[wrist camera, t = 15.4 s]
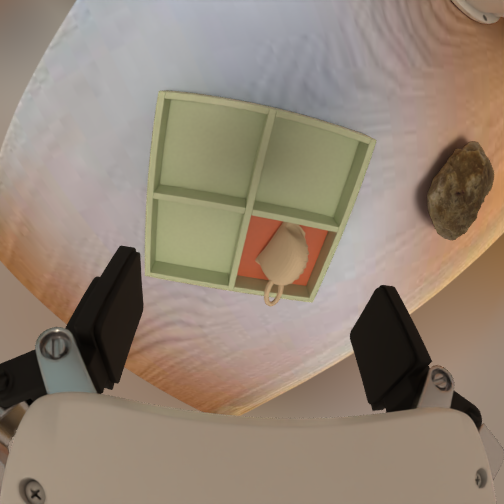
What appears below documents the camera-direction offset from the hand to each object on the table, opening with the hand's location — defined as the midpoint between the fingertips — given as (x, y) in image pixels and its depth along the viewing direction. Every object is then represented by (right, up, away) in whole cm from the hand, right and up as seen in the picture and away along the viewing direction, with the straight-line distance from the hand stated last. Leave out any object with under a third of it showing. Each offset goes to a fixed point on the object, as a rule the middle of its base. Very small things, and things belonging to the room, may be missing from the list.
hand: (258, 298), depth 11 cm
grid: (-1, +7, +20) cm, 22 cm away
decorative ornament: (+3, +2, +23) cm, 24 cm away
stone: (+26, +11, +19) cm, 34 cm away
